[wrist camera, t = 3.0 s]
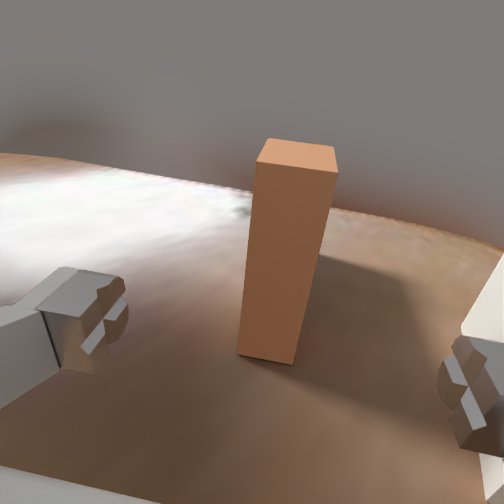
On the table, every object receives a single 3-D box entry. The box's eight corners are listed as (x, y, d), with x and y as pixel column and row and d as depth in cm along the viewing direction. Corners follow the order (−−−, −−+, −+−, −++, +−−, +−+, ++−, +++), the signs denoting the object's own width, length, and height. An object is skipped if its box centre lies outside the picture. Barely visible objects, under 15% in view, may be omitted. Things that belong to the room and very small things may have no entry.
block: (292, 364, 23) (338, 172, 16) (237, 354, 24) (256, 161, 16) (296, 316, 28) (333, 146, 20) (248, 308, 28) (268, 138, 20)
